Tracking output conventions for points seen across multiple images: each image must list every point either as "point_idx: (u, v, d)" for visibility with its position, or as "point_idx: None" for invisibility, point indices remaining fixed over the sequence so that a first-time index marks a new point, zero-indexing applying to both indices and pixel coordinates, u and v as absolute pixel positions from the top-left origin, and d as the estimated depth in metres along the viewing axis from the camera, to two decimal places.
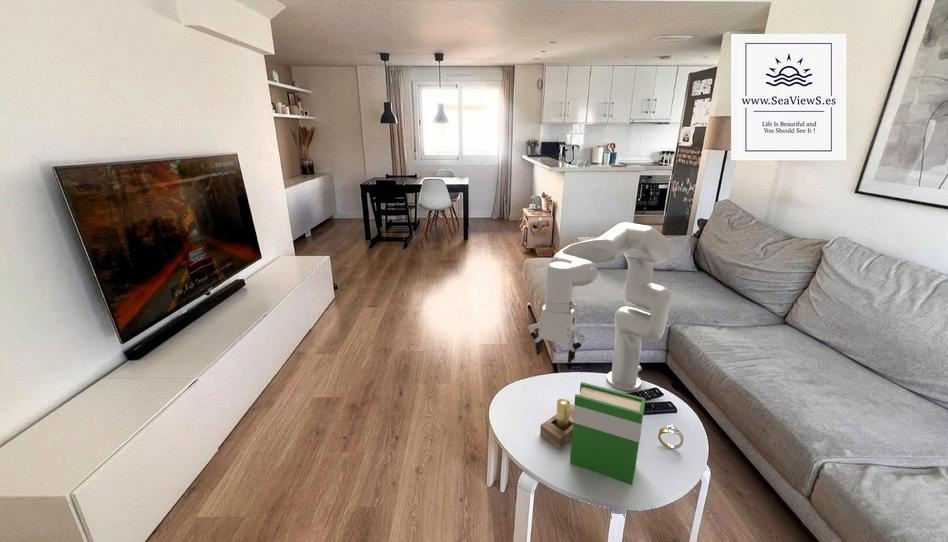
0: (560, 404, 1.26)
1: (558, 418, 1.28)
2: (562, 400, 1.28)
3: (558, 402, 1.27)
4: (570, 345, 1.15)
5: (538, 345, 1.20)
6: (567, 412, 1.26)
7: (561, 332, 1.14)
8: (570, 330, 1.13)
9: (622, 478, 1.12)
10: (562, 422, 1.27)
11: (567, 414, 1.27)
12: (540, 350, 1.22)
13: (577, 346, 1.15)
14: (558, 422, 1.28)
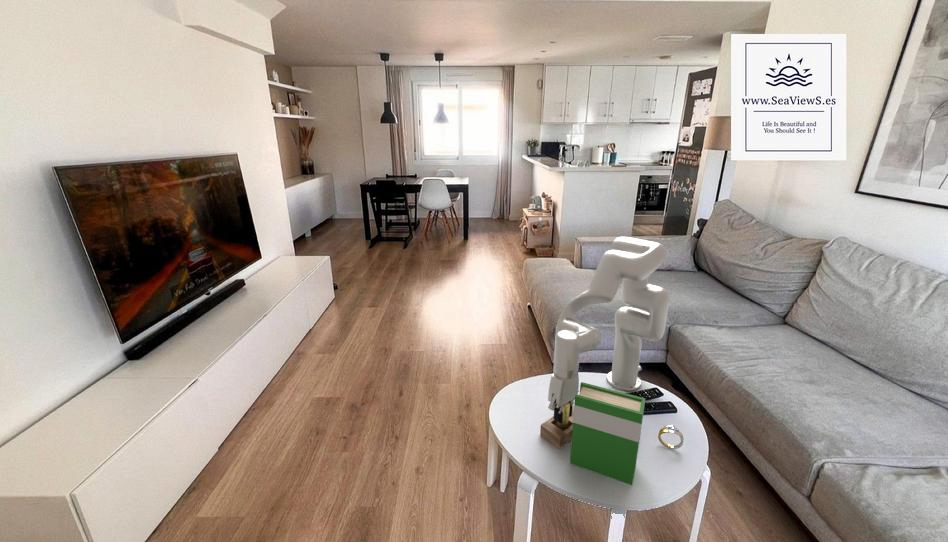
0: None
1: None
2: None
3: None
4: (572, 400, 1.28)
5: (562, 414, 1.25)
6: (567, 412, 1.26)
7: (574, 389, 1.25)
8: (578, 383, 1.26)
9: (622, 478, 1.12)
10: (562, 422, 1.27)
11: (567, 414, 1.27)
12: None
13: (573, 398, 1.29)
14: (558, 422, 1.28)
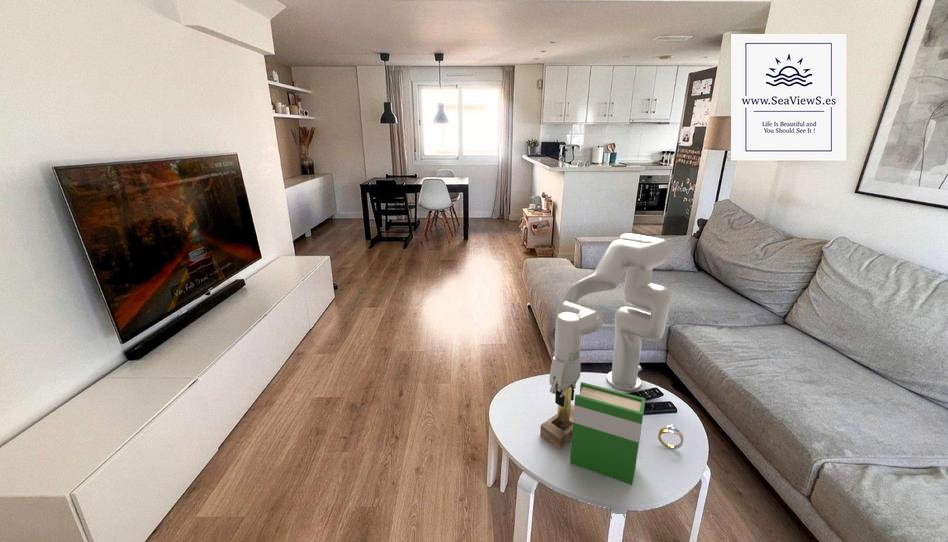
0: None
1: None
2: None
3: None
4: (574, 383, 1.26)
5: (564, 398, 1.24)
6: (568, 395, 1.24)
7: (576, 372, 1.23)
8: (580, 366, 1.25)
9: (622, 478, 1.12)
10: (564, 406, 1.26)
11: (569, 398, 1.25)
12: None
13: (575, 382, 1.27)
14: (560, 406, 1.26)
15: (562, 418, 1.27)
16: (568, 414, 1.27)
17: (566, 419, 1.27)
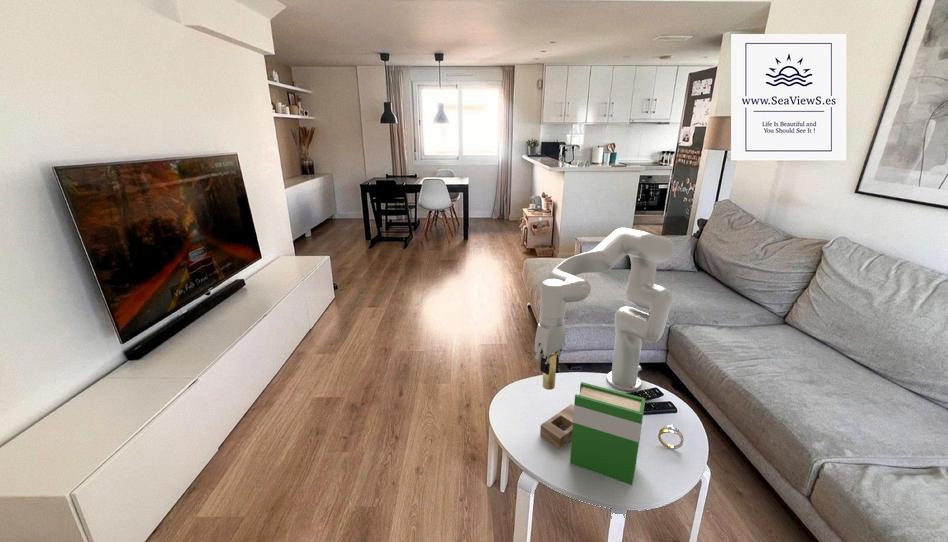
0: None
1: None
2: None
3: None
4: (559, 351, 1.28)
5: (549, 365, 1.25)
6: (553, 363, 1.26)
7: (561, 340, 1.25)
8: (564, 334, 1.26)
9: (622, 478, 1.12)
10: (549, 374, 1.27)
11: (554, 365, 1.26)
12: None
13: (560, 350, 1.29)
14: (545, 374, 1.28)
15: (547, 386, 1.29)
16: (553, 382, 1.28)
17: (551, 387, 1.29)
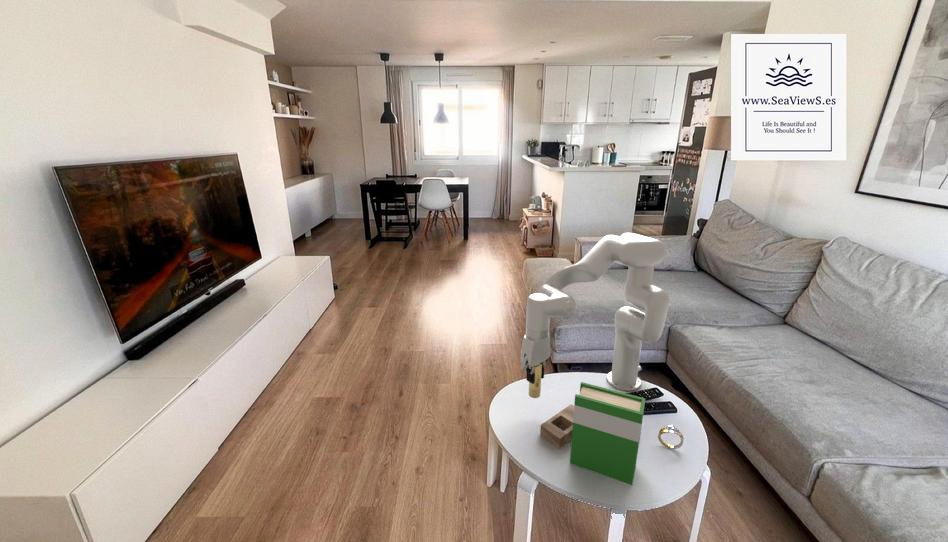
0: None
1: None
2: None
3: None
4: (544, 362, 1.34)
5: (534, 375, 1.31)
6: (538, 373, 1.32)
7: (546, 351, 1.31)
8: None
9: (622, 478, 1.12)
10: (534, 383, 1.33)
11: (539, 375, 1.32)
12: None
13: (546, 361, 1.35)
14: (531, 383, 1.34)
15: (533, 395, 1.35)
16: (538, 391, 1.35)
17: (536, 396, 1.35)
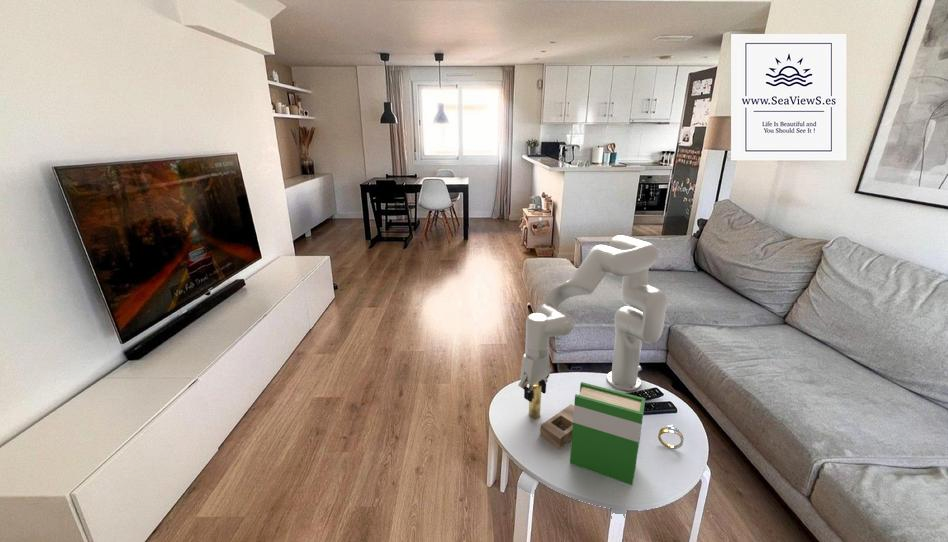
0: (532, 387, 1.35)
1: None
2: None
3: None
4: (545, 378, 1.36)
5: None
6: (538, 394, 1.35)
7: (545, 369, 1.33)
8: (549, 363, 1.35)
9: (622, 478, 1.12)
10: (534, 404, 1.36)
11: (539, 396, 1.35)
12: None
13: (547, 376, 1.38)
14: (530, 404, 1.37)
15: (533, 415, 1.38)
16: (538, 411, 1.37)
17: (536, 416, 1.38)
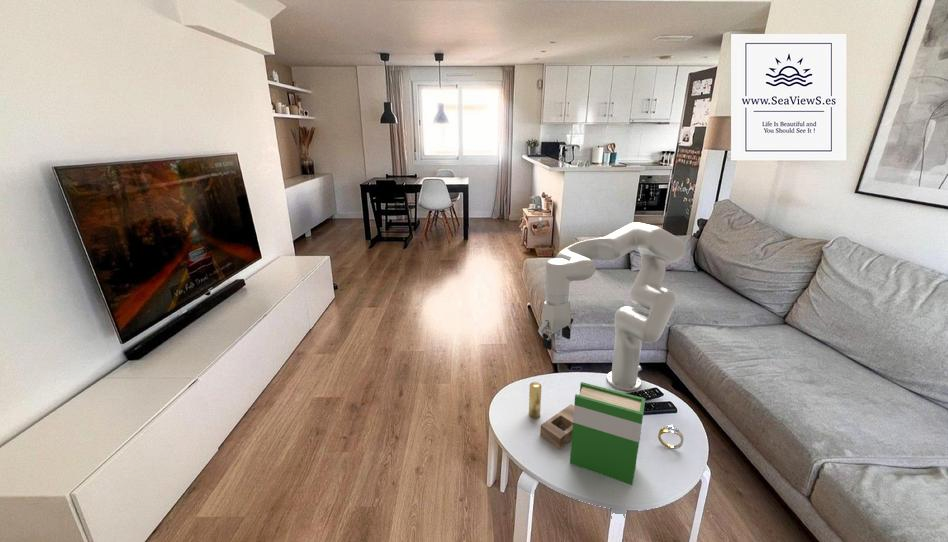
0: (532, 387, 1.35)
1: (530, 400, 1.36)
2: (534, 383, 1.37)
3: (530, 385, 1.36)
4: (569, 324, 1.34)
5: (551, 341, 1.29)
6: (538, 394, 1.35)
7: (567, 317, 1.30)
8: (570, 311, 1.31)
9: (622, 478, 1.12)
10: (534, 404, 1.36)
11: (539, 396, 1.35)
12: None
13: (571, 321, 1.35)
14: (530, 404, 1.37)
15: (533, 415, 1.38)
16: (538, 411, 1.37)
17: (536, 416, 1.38)
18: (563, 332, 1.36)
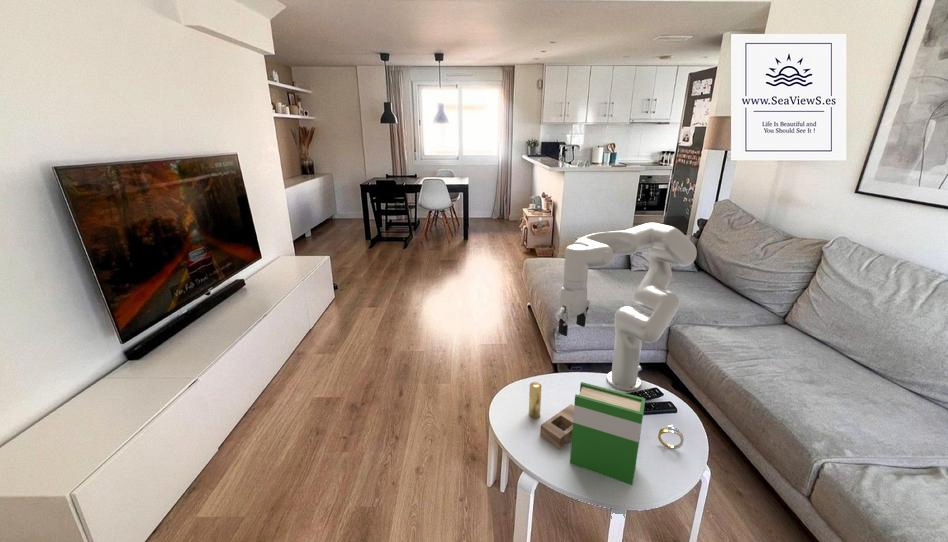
0: (532, 387, 1.35)
1: (530, 400, 1.36)
2: (534, 383, 1.37)
3: (530, 385, 1.36)
4: (584, 311, 1.35)
5: (567, 327, 1.30)
6: (538, 394, 1.35)
7: (583, 303, 1.31)
8: None
9: (622, 478, 1.12)
10: (534, 404, 1.36)
11: (539, 396, 1.35)
12: None
13: (587, 309, 1.36)
14: (530, 404, 1.37)
15: (533, 415, 1.38)
16: (538, 411, 1.37)
17: (536, 416, 1.38)
18: (578, 320, 1.37)
